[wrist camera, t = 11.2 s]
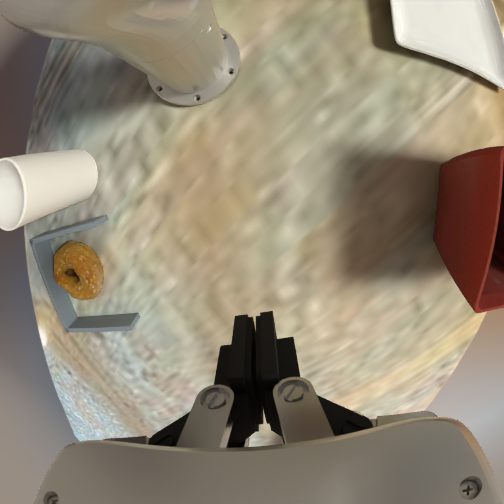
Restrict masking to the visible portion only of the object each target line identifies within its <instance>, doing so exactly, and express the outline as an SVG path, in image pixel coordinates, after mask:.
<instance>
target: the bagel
mask: <svg viewBox="0 0 504 504" xmlns="http://www.w3.org/2000/svg"><path fill="white" fill-rule="evenodd" d="M54 278H55V280H56V281H57V283H58V285H59V286H62V287H63V288H64V289H65V290H66V291H68V292H69V293H70V295H71V296H72V297H73V298H76V299H80V300H88V299H93V298H95V297H96V296H98V295H99V293H100V292H101V289H102V285H103V281H104V276H103V267H102V264H101V261H100V259H99V257H98V256H97V254H96V253H95V252H94V250H93V249H92V248H90V247H89V246H87V245H86V244H83V243H81V242H75V241H67V242H66V243H65V244H64V245H63V246H62V247H60V248H59V249H58V250H57V251H56V253H55V255H54Z"/></svg>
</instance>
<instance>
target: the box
mask: <svg viewBox="0 0 504 504" xmlns="http://www.w3.org/2000/svg"><path fill="white" fill-rule="evenodd" d="M106 221H108V217H107V215H105V216H101V217H97V218H94V219H90V220H86V221H83V222H79V223H75V224H72V225H68V226H65V227H62V228H58V229H55V230H52V231H48V232H45V233H43V234H41V235H39V236H37V237H35V238H33V239H31V240H30V242H31V246H32V249H33V252H34V255H35V258H36V261H37V264H38V267H39V269H40V272H41V275H42V278H43V280H44V283H45V285H46V288H47V290H48V293H49V295H50V298H51V300H52V302H53V305H54V307H55V309H56V312H57V314H58V316H59V318H60V320H61V322H62V324H63V327H64V329H65V331H66V332H106V331H130V330H132V329H133V327H134V326H135V324H136V323H137V321H138V319H139V318H140V316H139V313H132V314H119V315H105V316H89V317H77V315H76V312H75V310H74V308H73V305H72V303H71V301H70V298H69V296H68V293H67V291H66V290H65V289H64V288H63V287H62V286H59V285H58V283H57V281H56V280H55V278H54V255H53V252H52V249H51V246H50V243H49V239H53V238H56V237H60V236H63V235H67V234H71V233H75V232H78V231H82V230H86V229H90V228H94V227H97V226H98V225H100V224H102V223H104V222H106Z"/></svg>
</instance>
